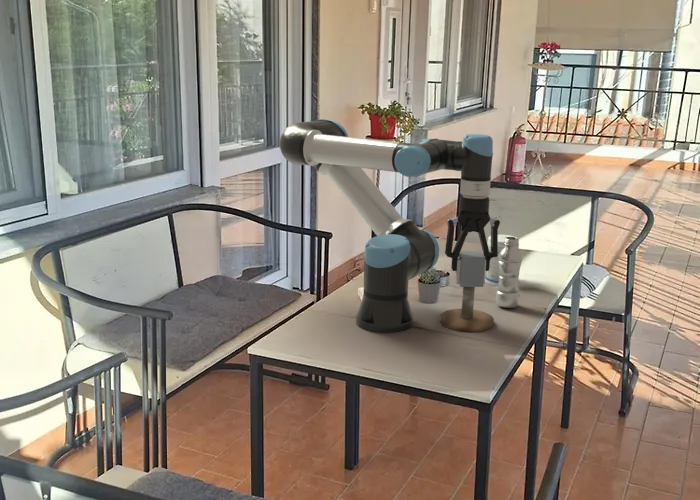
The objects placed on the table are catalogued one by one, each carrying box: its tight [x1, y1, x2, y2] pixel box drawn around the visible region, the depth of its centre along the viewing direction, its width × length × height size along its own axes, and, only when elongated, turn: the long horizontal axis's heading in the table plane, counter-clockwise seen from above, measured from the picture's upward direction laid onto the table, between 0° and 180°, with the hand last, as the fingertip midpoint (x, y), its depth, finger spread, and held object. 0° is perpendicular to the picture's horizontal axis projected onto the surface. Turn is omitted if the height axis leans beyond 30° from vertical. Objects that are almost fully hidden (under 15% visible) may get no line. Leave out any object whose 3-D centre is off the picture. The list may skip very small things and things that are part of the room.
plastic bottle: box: [495, 236, 523, 309], centre depth 221 cm, size 6×7×20 cm
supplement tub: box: [485, 234, 520, 288], centre depth 243 cm, size 10×10×15 cm
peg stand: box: [439, 287, 495, 333], centre depth 209 cm, size 14×14×12 cm
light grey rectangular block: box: [458, 250, 485, 288], centre depth 206 cm, size 6×6×8 cm
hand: (469, 282), depth 207 cm, fingers closed on light grey rectangular block, 6 cm apart
